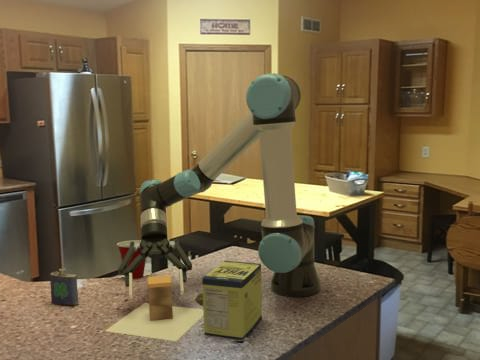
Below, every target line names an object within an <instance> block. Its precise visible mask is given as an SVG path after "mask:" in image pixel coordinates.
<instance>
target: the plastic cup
mask: <svg viewBox="0 0 480 360" xmlns="http://www.w3.org/2000/svg"><path fill="white" fill-rule="evenodd" d="M131 241H133V242H134V243H140V242H141V239H140V240H139V239H136V240H135V239H134V240H133V239H132V240H124V241H120V242H118V243H116V245H117V247H118V250H119V253H120V258H121V262H122V261H123V259H124V257H125V255H126V254H127V252H128V250H129V248H130V242H131ZM141 251H142V250H141V249H140V248H138V249H137V251H134V254H133V256H132V258H131V260H130V262H129V264H128V266H129V265H130V264H131V263H132V262H133V261H134V260H135V258H136V257H137V256H138V255H139V254H140V252H141ZM146 259H147V258H146ZM146 259H145V260H143V261H142V262H141V263H140V265H139V266H138V267H137V268H136V269H135V270H134V271H133V273H132V280H135V279H136V280H137V279H141V278H143V277H144V274H145V267H146V261H147V260H146ZM128 266H127V267H128ZM127 267H126V269H127Z"/></svg>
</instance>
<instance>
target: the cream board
mask: <svg viewBox="0 0 480 360" xmlns="http://www.w3.org/2000/svg"><path fill="white" fill-rule="evenodd" d="M172 310H173V319H165V320H154V321H150V312H149V302H143V303H142V304H141V305H139V306H138V307H136V309H133V310H132V311H131V312H129V313H128V314H126V315H125V316H124V317H123V318H121V319H119V321H117V322H116V323H114V324H112V325H111V326H110V327H108V328H106V330H104V332H108V333H115V334H120V335H122V334H123V335H130V336H136V337H143V338H151V339H155V340H163V341H172V342H177V341H178V340H179V339H181V337H182V336H183V335H184V334H185V333H187V332H188V331H189V330H190V329H192V328H193V326H194V325H195V324H196V323H198V321H199V320H200V319H202V318H203V317H204V311H203V309H200V308H194V307H193V308H191V307H183V306H175V305H172Z"/></svg>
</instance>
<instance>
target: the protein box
mask: <svg viewBox="0 0 480 360" xmlns="http://www.w3.org/2000/svg"><path fill="white" fill-rule="evenodd" d="M201 279H202V293H203V306H202V308H203V309H202V310H203V311H204V316H203V332H204V336H205V335H207V336H211V337H217V338H224V339H225V338H226V339H232V340H233V339H234V340H235V341H233V343H237V344H244V342H246V340H245V338H249V336H250V335H251V333H253V331H254V330H255V329H256V328H257V327H258V325H259V324H260V323H261V322H262V321H263V304H262V303H263V302H262V301H263V299H262V298H263V295H262V293H263V291H262V289H263V288H262V264H261V263H255V262H244V261H243V262H242V261H233V260H223V262H222V263H220V264H219V265H218V266H216V267H215V268H214V269H212V270H210V272H208V273H206V274H205V275H204V276H203V277H202V278H201Z"/></svg>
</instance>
